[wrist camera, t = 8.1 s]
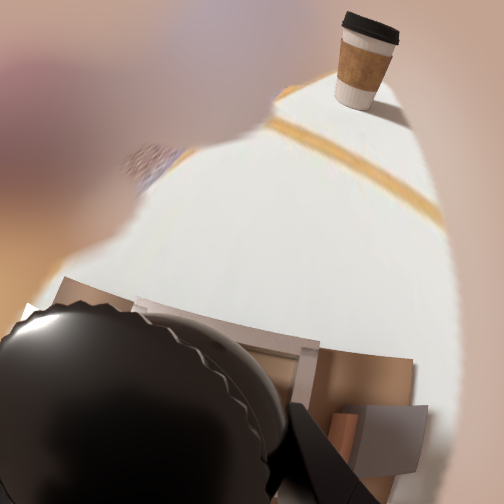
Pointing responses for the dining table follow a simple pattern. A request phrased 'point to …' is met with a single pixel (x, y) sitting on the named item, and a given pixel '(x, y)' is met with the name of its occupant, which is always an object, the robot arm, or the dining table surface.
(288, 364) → the walnut rail
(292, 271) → the dining table surface
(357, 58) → the coffee cup
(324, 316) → the dining table surface
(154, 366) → the supplement bottle
